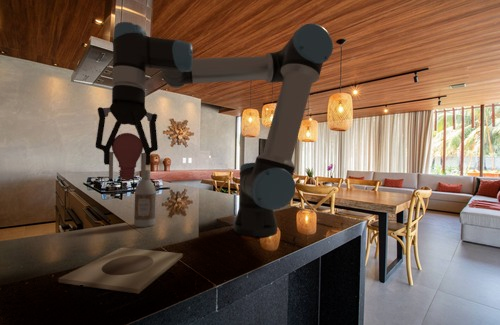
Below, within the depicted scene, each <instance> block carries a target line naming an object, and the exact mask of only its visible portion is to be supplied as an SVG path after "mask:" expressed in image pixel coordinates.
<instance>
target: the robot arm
mask: <svg viewBox="0 0 500 325" xmlns="http://www.w3.org/2000/svg"><path fill="white" fill-rule="evenodd" d="M113 28H114V29H113V38H112V81H111V82H112V85H113V86H112V88H111V89H112V90H111V94H112V95H111V105H110V107H98V108H97V113H98V118H99V119H98V126H97V132H96V139H95V148H96V149H97V150H101V151H103V163H104V165H108V178H109V179H110V180H111V179H113V178H114V153H113V151H111V149H112V144H113V141H114V139H115V138H116V137H117V136H118V135H117V134H118V133H119V130H120V128H121V125H130V126H134V127H135V130H136V131H137V135H138V137H139V139H140V140H141V141H142V144H143V152H142V153H141V155H140V158H141V161H140V178H141V179H142V178H146V170H147V166H150V164H151V153H153V152H156V151H158V148H159V146H158V137H157V136H158V135H157V134H158V133H157V118H158V114H157V113H152V112H148V111H147V109H146V92H145V89H146V71H147V70H146V69H147V68H148V69H156V70H160V72H161V76H162V78H163V80H164V81H165V83H166V84H167V85H168V86H170V88H175V89H178V88H182V87H184V86H185V85H189V84H207V83H208V84H209V83H210V84H211V83H225V82H226V83H227V82H229V83H230V82H245V81H246V82H249V81H265V82H266V83H281V86H280V91H279V94H278V98H277V102H276V105H275V109H274V112H273V115H272V119H271V123H270V127H269V131H268V132H267V133H268V134H267V137H266V142H265V145H264V148H263V152H262V153H261V154H259V155H257V156H256V157H255V161H254V162H247V163H243V164H241V165H240V169H239V200H238V201H239V205H238V206H239V207H238V211H237V213H236V217H235V219H234V222H233V231H234V233H236V234H238V235H242V236H245V237H246V236H247V237H269V236H273V235H275V234H277V232H278V221H277V219H276V214H275V211H276V210H280V209H282V208H284V207H286V206H287V205H288V204H290V203H291V201H292V200H293V198H294V196H295V194H296V181H295V179H294V177H293V176H294V173H295V169H296V167H295V164H294V163H293V161H292V160H293V155H294V152H295V148H296V144H297V141H298V136H299V133H300V129H301V126H302V121H303V118H304V115H305V111H306V107H307V103H308V100H309V97H310V92H311V88H312V85H313V84H315V83H316V82H317V81H318V80H319V79H320V75H321V71H322V68H323V64H324V63H325V62H327V61H328V60H329V59H330V57H331V56H332V54H333V50H334V43H333V39H332V37H331V36H330V34H329V32H328V31H327V29H325V28H324V27H323V26H322V25H319V24H317V23H313V22H311V23H306V24H304V25H301V26H300V27H299V28H298V29H296V30H295V31H294V33H293V35H292V36H291V38H290V39H289V40H288V41H287V43H286V44H285V45H284V46H283V47H282V48H281V49H280V50H278V51H275V52H267V53H266V54H265V55H263V56H262V55H260V56H259V55H258V56H237V57H236V56H235V57H233V56H231V57H207V58H206V57H203V58H201V57H200V58H199V57H198V58H193V57H194V56H193V50H194V48H193V45H192V43H191V42H188V41H184V40H180V39H171V38H162V37H154V36H153V37H152V36H148V35H147V32H146V30H145V29H144V28H143V27H142V26H140V25H138V24H135V23H133V22H130V21H122V22H118V23H116V24H115V26H114V27H113ZM110 113H111V114H112V116H113V117H114V119H115V120H116V121H115V123H114V125H113V128H112V130H111V132H110V135H109V137H108V139H107V142H106V144H105V145H104V144H102V143H103V137H104V130H105V125H106V124H105V123H106V118H107V117H108V116H109V114H110ZM145 117H146V118H147V121H148V122H149V123H148V126H149V137H150V145H149V142H148V139H147V136H146V133H145V130H144V129H143V124H142V120H143V119H144V118H145Z"/></svg>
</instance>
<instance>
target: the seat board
mask: <svg viewBox="0 0 500 325" xmlns="http://www.w3.org/2000/svg"><path fill="white" fill-rule="evenodd" d="M183 256H184V254H183V253H181V252H179V253H178V252H169V251H162V250H161V251H160V250H150V249H141V248H131V247H120V248H118V249H116V250H114V251H111V252H110V253H108V254H106V255H104V256H102V257H100V258H97V259H95V260H94V261H92V262H89V263H87V264H85V265H83V266H81V267H79V268H77V269H75V270H72V271H70V272H69V273H66V274H64V275H62V276H60V277H58V283H60V284H66V285H68V284H69V285H74V286H80V285H83V286H82V287H88V288H95V289H96V288H97V289H103V290H110V291H116V292H124V293H133V294H140V293H141V292H142V291H144V289H146V288H147V287H148V286H149V285H151V284H152V283H154V281H156V280H157V279H158V278H159V277H160V276H162V275H163V274H164V273H165V272H166V271H168V270H169V269H170V268H171V267H173V266H174V265H175V264H176V263H178V261H180V260H181V259H182V258H183Z"/></svg>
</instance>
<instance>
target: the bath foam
mask: <svg viewBox="0 0 500 325" xmlns="http://www.w3.org/2000/svg"><path fill="white" fill-rule="evenodd" d="M156 198H157V191H156V187H155V185H154V183H153V182H152V180H151V169H146V178H141V180H140V181H139V183H137V185H136V187H135V192H134V212H133V213H134V215H133V216H134V219H133V220H134V223H133V224H134V226H135V227H137V228H147V227H148V226H149V227H153V226H154V225H155V224H156V209H157V208H156V206H157V205H156V203H157V202H156V200H157V199H156Z"/></svg>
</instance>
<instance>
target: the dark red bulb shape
mask: <svg viewBox="0 0 500 325" xmlns="http://www.w3.org/2000/svg"><path fill="white" fill-rule="evenodd" d="M111 150H112V151H111V152H113V156H114V157H115V158H116V160H117V162H118V168H119V170H118V173H119V174H118V175H119V176H118V177H119V178H121V179H124V181H129V180H131V179H133V178H135V173H136V168H137V163H138V160H139V159H140V158H141V153H143V152H144V149H143V144H142V141H141V140H140V138H139V136H137V135H135V134H134V133H130V132H125V133H124V132H123V133H120V134H118V135H116V137H115V139H114V141H113V144H112V146H111Z"/></svg>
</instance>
